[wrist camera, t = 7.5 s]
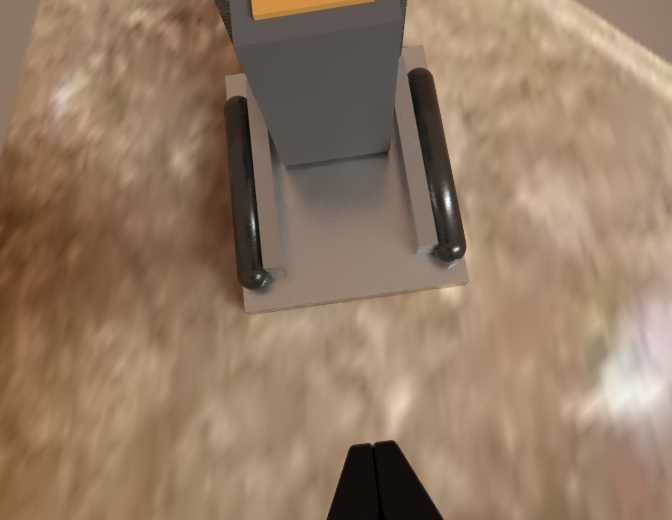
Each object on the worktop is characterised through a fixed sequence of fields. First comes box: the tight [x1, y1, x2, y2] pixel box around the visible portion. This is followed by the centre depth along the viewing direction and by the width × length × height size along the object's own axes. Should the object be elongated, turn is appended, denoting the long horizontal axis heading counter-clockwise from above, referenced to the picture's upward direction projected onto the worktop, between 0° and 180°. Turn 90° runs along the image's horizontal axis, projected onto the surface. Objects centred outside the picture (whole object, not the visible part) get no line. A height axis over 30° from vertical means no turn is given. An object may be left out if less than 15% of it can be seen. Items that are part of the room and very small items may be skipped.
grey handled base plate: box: [214, 0, 469, 315], centre depth 20 cm, size 12×10×7 cm
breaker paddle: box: [229, 0, 403, 166], centre depth 18 cm, size 4×5×9 cm
